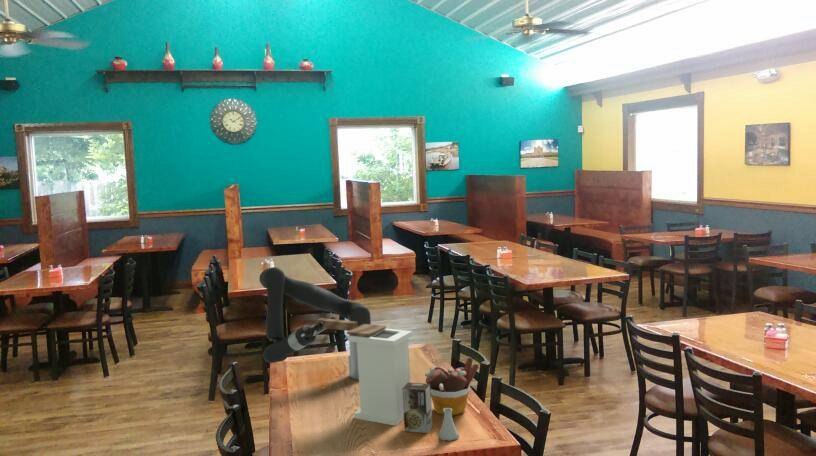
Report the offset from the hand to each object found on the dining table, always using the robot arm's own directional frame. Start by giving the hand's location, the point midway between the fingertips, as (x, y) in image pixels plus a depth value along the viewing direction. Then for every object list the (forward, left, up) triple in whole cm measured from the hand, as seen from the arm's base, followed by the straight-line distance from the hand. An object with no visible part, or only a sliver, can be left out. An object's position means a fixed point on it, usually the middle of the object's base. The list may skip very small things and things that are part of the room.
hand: (328, 321), depth 258 cm
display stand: (+23, 0, -35) cm, 42 cm away
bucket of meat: (+45, +14, -35) cm, 59 cm away
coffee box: (+41, -6, -35) cm, 55 cm away
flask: (+54, -8, -35) cm, 65 cm away
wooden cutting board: (+9, 0, -2) cm, 9 cm away
